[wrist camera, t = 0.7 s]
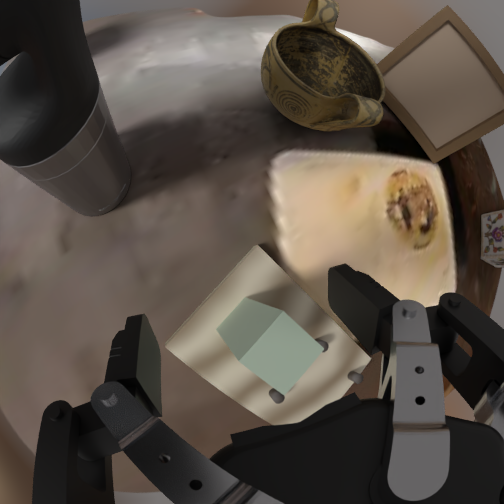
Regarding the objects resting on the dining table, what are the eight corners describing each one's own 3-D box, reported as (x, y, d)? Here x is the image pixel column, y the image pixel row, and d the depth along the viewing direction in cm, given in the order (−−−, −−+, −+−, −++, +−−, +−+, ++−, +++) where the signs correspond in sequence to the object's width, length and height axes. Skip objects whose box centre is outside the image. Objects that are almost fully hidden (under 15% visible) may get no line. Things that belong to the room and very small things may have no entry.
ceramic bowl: (242, 46, 36) (269, -20, 22) (331, 61, 41) (374, 13, 26) (256, 162, 35) (305, 101, 21) (360, 168, 40) (429, 131, 25)
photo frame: (430, 165, 45) (528, 125, 21) (358, 81, 42) (444, 6, 18) (443, 131, 48) (521, 94, 24) (382, 60, 45) (452, 3, 21)
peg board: (165, 343, 30) (164, 351, 27) (254, 246, 34) (262, 243, 31) (297, 436, 34) (307, 448, 30) (365, 356, 37) (379, 361, 34)
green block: (215, 329, 31) (238, 361, 19) (244, 297, 32) (283, 310, 20) (247, 355, 31) (284, 395, 20) (274, 324, 32) (324, 348, 21)
